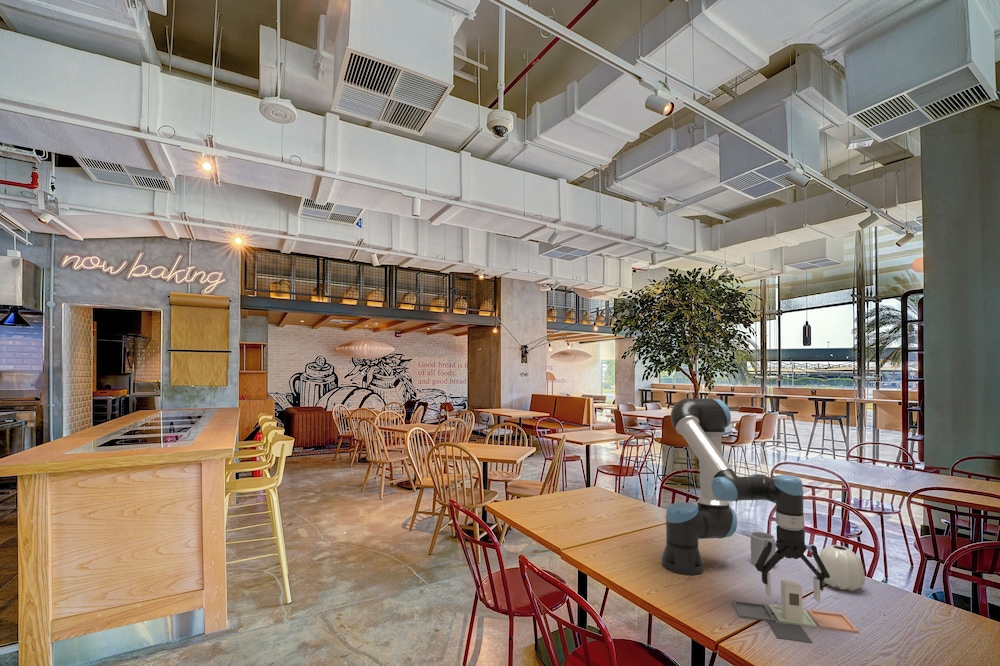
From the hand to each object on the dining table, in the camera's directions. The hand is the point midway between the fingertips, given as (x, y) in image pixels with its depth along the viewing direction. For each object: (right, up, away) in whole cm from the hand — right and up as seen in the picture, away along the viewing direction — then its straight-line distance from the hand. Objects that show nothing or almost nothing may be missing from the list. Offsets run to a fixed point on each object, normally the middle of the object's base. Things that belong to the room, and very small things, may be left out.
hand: (792, 597), depth 148 cm
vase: (+31, -9, +23) cm, 40 cm away
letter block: (0, -6, 0) cm, 6 cm away
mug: (+15, -10, +42) cm, 45 cm away
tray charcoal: (-11, -6, +2) cm, 13 cm away
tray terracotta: (+11, -6, -3) cm, 13 cm away
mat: (-6, -6, -9) cm, 12 cm away
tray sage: (0, -6, 0) cm, 6 cm away
